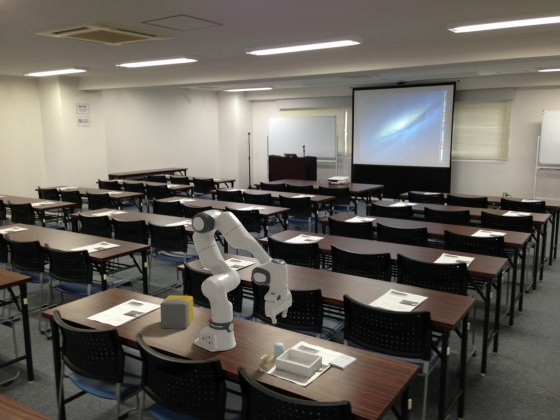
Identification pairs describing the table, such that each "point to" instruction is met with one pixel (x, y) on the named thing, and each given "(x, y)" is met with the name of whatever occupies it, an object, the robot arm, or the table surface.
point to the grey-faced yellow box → (177, 311)
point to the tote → (298, 362)
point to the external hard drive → (342, 361)
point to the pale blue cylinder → (278, 349)
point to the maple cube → (266, 362)
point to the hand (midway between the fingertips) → (279, 320)
